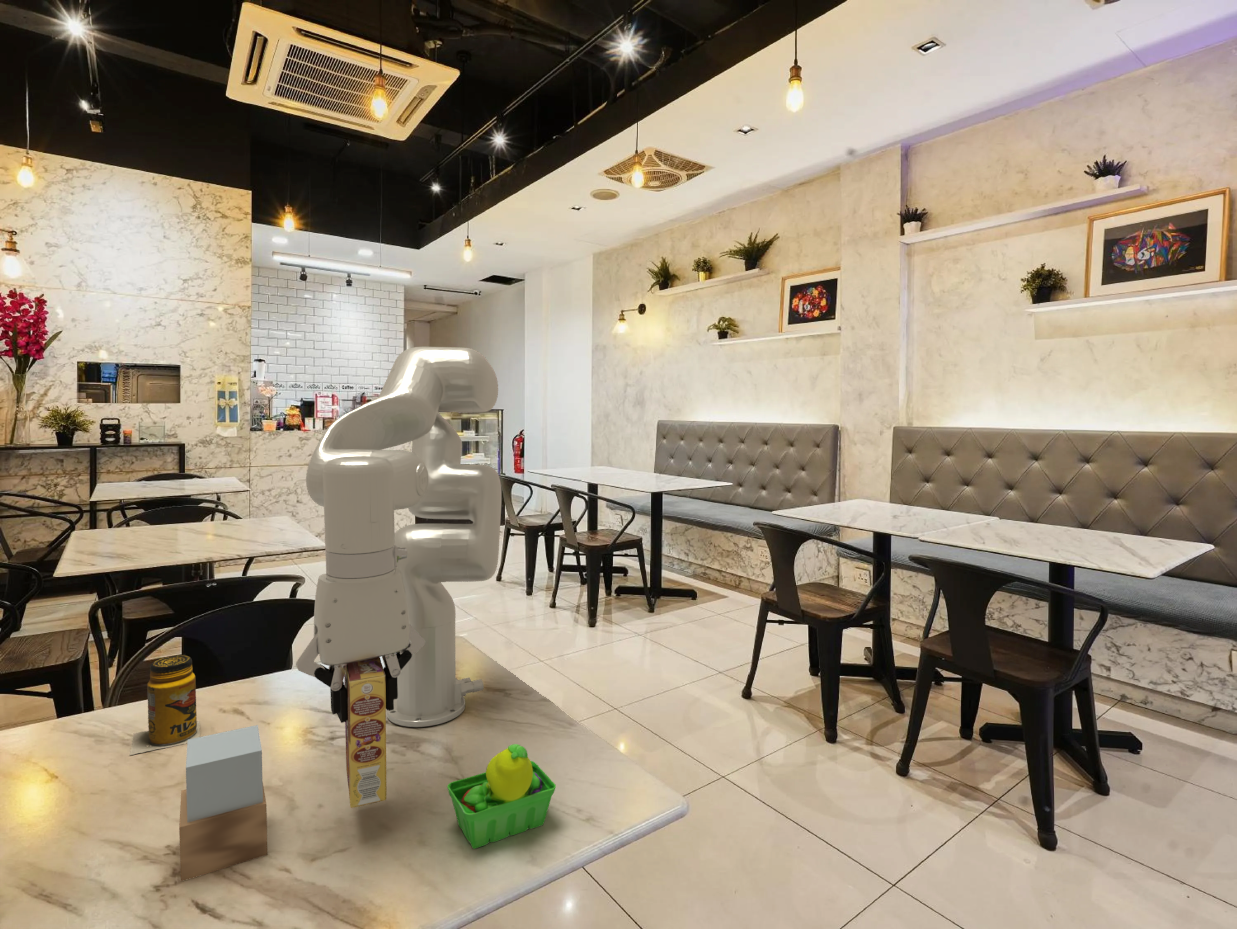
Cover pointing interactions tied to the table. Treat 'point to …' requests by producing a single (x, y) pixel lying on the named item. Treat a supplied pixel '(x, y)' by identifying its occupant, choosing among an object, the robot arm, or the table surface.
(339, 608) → the robot arm
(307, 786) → the table surface
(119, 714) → the table surface
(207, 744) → the slate block
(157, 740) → the condiment
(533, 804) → the fruit basket
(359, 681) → the candy box
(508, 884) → the table surface
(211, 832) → the walnut block
